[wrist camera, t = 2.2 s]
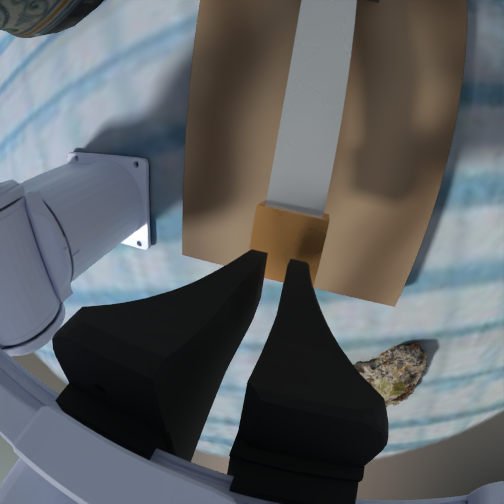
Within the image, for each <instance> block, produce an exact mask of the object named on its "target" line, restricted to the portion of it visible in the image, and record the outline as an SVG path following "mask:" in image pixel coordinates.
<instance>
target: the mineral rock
mask: <svg viewBox="0 0 504 504" xmlns="http://www.w3.org/2000/svg"><path fill="white" fill-rule="evenodd" d="M426 360H427V356H426V352H424V351H420V344H419V343H416V342H415V343H413V344H411V345H406V346H404V345H403V344H401V345H397V346H394V347H392V348H390V349H388V350H387V351H386V352H383V353H382V354H381V355H380V356H379V357H378V358H376V359H374V360H372V361H370V362H366V363H359V362H358V363H357V364H355V365H354V367H355V368H356V369H357V370H358V372H359V373H360V374H361V375H362V376H363V377H364V378H365V379H366V380H367V381H368V382H369V383H370V384H371V385H372V386H373V388H374V389H375V390H376V391H377V392H378V393H379V394H380V395H381V396H382V397H383V398H384V399H385V405H386V407H387V406H388V405H390V404H393V405H397V404H399V402H400V401H403V400H406V399H408V396H409V395H410V394H412V393H413V391H414V389H415V386H416V385H417V384H419V382H420V380H421V376H422V373H423V372H425V371H424V370H425V369H426V366H427V363H426Z"/></svg>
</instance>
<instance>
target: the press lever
mask: <svg viewBox="0 0 504 504" xmlns="http://www.w3.org/2000/svg"><path fill="white" fill-rule="evenodd" d="M356 4H357V0H301V6H300V11H299V17H298V23H297V29H296V35H295V41H294V46H293V52H292V58H291V64H290V69H289V75H288V81H287V87H286V92H285V98H284V104H283V109H282V115H281V121H280V126H279V132H278V138H277V143H276V149H275V155H274V160H273V166H272V171H271V177H270V183H269V188H268V194H267V199H266V200H265V201H263V202H261V203H260V204H258V205H257V207H256V212H255V218H254V224H253V230H252V235H251V241H250V247H249V250H251V249H253V250H257V251H262V252H266V253H268V256H267V262H266V268H265V275H264V278H267V279H272V280H276V281H280V282H284V279H285V274H286V269H287V265H288V263H289V261H290V259H295V260H299V261H304V262H308V264H309V266H310V276H311V280H312V285H313V287H314V283H315V279H316V275H317V271H318V267H319V263H320V259H321V255H322V251H323V247H324V243H325V239H326V235H327V230H328V226H329V222H330V219H329V214H326V213H324V209H325V204H326V199H327V194H328V190H329V185H330V180H331V175H332V170H333V164H334V159H335V154H336V148H337V143H338V137H339V132H340V126H341V120H342V114H343V108H344V101H345V95H346V88H347V81H348V74H349V67H350V59H351V51H352V43H353V34H354V25H355V15H356Z"/></svg>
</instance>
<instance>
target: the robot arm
mask: <svg viewBox="0 0 504 504" xmlns="http://www.w3.org/2000/svg"><path fill="white" fill-rule="evenodd" d="M78 158H79V159H78ZM136 162H138V164H139V166H137V164H136ZM139 241H140V242H141V243H142V244H141V243H140V242H139ZM120 243H123V244H126V245H130V246H133V247H137V248H140V249H144V250H147V249H149V248H150V246H151V238H150V214H149V163H148V161H147V159H145V158H140V157H130V156H120V155H109V154H96V153H82V152H70V153H68V155H67V164H65V165H63V166H60V167H57V168H55V169H52V170H50V171H48V172H45V173H43V174H40V175H38V176H36V177H33V178H31V179H29V180H26V181H24V182H23V183H18V182H16V181H14V180H8V181H5V182H2V183H0V435H1V436H2V437H3V438H4V439H5V440H6V441H7V442H8V443H9V444H10V445H11V446H12V447H13V449H14V452H15V453H16V454H17V455H18V456H19V457H20V458H19V459H18V461H17V462H16V464H15V465H14V466H13V468H12V469H11V471H10V472H9V473H8V475H7V476H6V478H5V479H4V481H3V482H2V484H1V485H0V504H504V481H501V482H496V483H491V484H487V485H485V486H482V487H480V488H478V489H476V490H474V491H473V492H471V493H470V494H469V495H465V496H458V497H449V498H439V499H425V500H365V499H356V496H357V489H358V482H360V481H362V479H363V475H364V466H365V465H366V464H367V463H368V462H370V461H371V460H372V459H373V458H374V457H375V456H377V455H378V454H379V453H380V452H381V451H382V450H383V449H384V447H385V446H386V445H387V441H388V417H387V411H386V405H385V399H384V398H383V397H382V396H381V395H380V394H379V393H378V392H377V391H376V390H375V389H374V388H373V386H372V385H371V384H370V383H369V382H368V381H367V380H366V379H365V378H364V377H363V376H362V375H361V374H360V373H359V372H358V370H357V369H356V368H355V367H354V366H353V364H352V363H351V362H350V360H349V359H348V358H347V356H346V355H345V353H344V352H343V350H342V349H341V348H340V346H339V345H338V343H337V341H336V339H335V338H334V336H333V334H332V332H331V331H330V329H329V327H328V325H327V323H326V321H325V318H324V316H323V314H322V311H321V309H320V306H319V304H318V301H317V298H316V295H315V292H314V288H313V285H312V280H311V276H310V266H309V264H308V262H304V261H299V260H295V259H290V261H289V263H288V265H287V269H286V274H285V279H284V283H283V288H282V293H281V298H280V302H279V307H278V311H277V316H276V318H275V321H274V324H273V326H272V329H271V331H270V334H269V336H268V339H267V341H266V343H265V346H264V348H263V350H262V353H261V355H260V357H259V359H258V361H257V363H256V366H255V368H254V370H253V372H252V374H251V376H250V378H249V380H248V382H247V388H246V393H245V398H244V404H243V409H242V414H241V420H240V425H239V430H238V433H237V436H236V438H235V441H234V444H233V446H232V449H231V452H230V455H229V456H230V461H229V467H228V472H227V474H224V473H220V472H218V471H214V470H211V469H208V468H206V467H203V466H200V465H197V464H194V463H192V462H191V459H192V457H193V454H194V452H195V449H196V446H197V443H198V441H199V438H200V435H201V433H202V430H203V428H204V425H205V422H206V420H207V417H208V415H209V412H210V409H211V407H212V404H213V402H214V399H215V397H216V394H217V392H218V389H219V387H220V384H221V382H222V379H223V377H224V374H225V372H226V370H227V368H228V366H229V364H230V362H231V360H232V358H233V356H234V355H235V353H236V351H237V349H238V347H239V345H240V343H241V341H242V340H243V338H244V336H245V334H246V332H247V330H248V328H249V326H250V324H251V322H252V320H253V318H254V315H255V312H256V310H257V307H258V304H259V301H260V298H261V293H262V287H263V281H264V275H265V268H266V262H267V256H268V253H266V252H262V251H257V250H253V249H251V250H249V251H248V252H246V253H244V254H243V255H241V256H240V257H238V258H237V259H235V260H233V261H232V262H230V263H229V264H227V265H225V266H224V267H222V268H220V269H219V270H217V271H215V272H213V273H211V274H209V275H207V276H205V277H203V278H201V279H200V280H197V281H195V282H193V283H191V284H188V285H186V286H183V287H181V288H178V289H175V290H172V291H169V292H166V293H162V294H159V295H156V296H152V297H149V298H145V299H140V300H135V301H130V302H125V303H118V304H111V305H100V306H89V307H82V308H81V309H80V310H78V311H77V312H76V313H75V314H74V315H73V316H72V317H71V318H70V319H69V320H68V321H67V322H66V323H65V324H64V325H63V326H62V327H61V328H60V326H61V325H62V323H63V320H64V318H65V307H64V304H63V302H64V301H65V300H66V299H67V298H68V297H69V296H70V295H71V294H72V293H73V292H72V289H71V285H70V283H71V282H72V281H73V280H75V279H76V278H77V277H78V276H79V275H81V274H82V273H83V272H84V271H86V270H87V269H88V268H89V267H91V266H92V265H93V264H94V263H96V262H97V261H98V260H99V259H101V258H102V257H103V256H104V255H106V254H107V253H108V252H110V251H111V250H112V249H113V248H115V247H116V246H117V245H119V244H120ZM59 328H60V329H59ZM51 339H52V343H53V350H54V353H55V355H56V358H57V360H58V362H59V364H60V366H61V368H62V370H63V372H64V373H65V375H66V377H67V379H68V381H69V384H68V385H67V386H66V388H65V389H64V390H63V391H62V393H61V394H58V393H57V392H56V391H54V390H53V389H51V388H50V387H48V386H47V385H46V384H44V383H43V382H41V381H40V380H39V379H38V378H36V377H35V376H33V375H32V374H31V373H30V372H28V371H27V370H26V369H25V368H23V367H22V366H21V365H20V364H18V363H17V362H16V361H15V360H14V359H12V358H11V357H12V356H17V355H25V354H29V353H32V352H34V351H36V350H38V349H40V348H41V347H43V346H44V345H45V344H47V343H48V342H49V341H50V340H51Z"/></svg>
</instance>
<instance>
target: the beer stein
mask: <svg viewBox="0 0 504 504" xmlns="http://www.w3.org/2000/svg"><path fill="white" fill-rule="evenodd" d="M102 1H103V0H0V30H3V31H6V32H8V33H10V34H12V35H14V36H16V37H21V38H32V37H36V36H41V35H46V34H52V33H58V32H60V31H63V30H65V29H68V28H70V27H73V26H75V25H76V24H77V23H78V22H79V21H81V20H82V19H83V18H84V17H86V16H87V15H88V14H89V13H90V12H92V11H93V10H94V9H96V8H97V7H98V6H99V4H100V3H101V2H102Z"/></svg>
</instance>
